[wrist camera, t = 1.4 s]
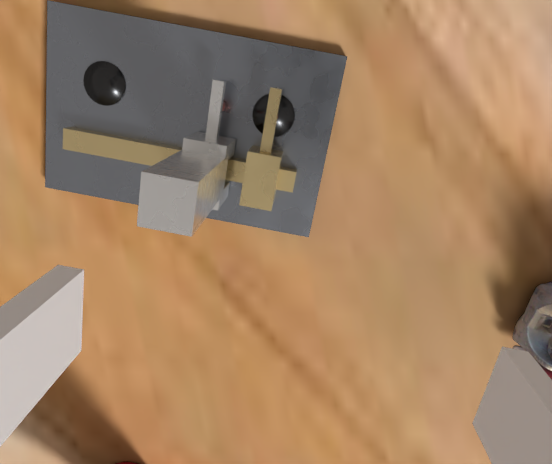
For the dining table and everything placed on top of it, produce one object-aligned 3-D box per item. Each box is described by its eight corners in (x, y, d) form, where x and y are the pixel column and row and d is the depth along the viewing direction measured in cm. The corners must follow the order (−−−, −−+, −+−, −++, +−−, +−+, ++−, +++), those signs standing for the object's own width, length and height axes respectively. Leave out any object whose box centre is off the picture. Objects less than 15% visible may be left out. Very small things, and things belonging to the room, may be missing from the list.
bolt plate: (53, 2, 33) (46, 0, 32) (346, 57, 33) (347, 56, 32) (50, 184, 38) (44, 187, 37) (308, 234, 38) (308, 237, 37)
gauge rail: (73, 49, 33) (49, 46, 30) (311, 94, 33) (311, 95, 30) (70, 161, 36) (48, 168, 33) (290, 203, 36) (288, 214, 33)
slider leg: (204, 77, 33) (149, 74, 22) (244, 84, 33) (210, 85, 22) (191, 189, 36) (135, 239, 24) (227, 196, 36) (190, 250, 24)
